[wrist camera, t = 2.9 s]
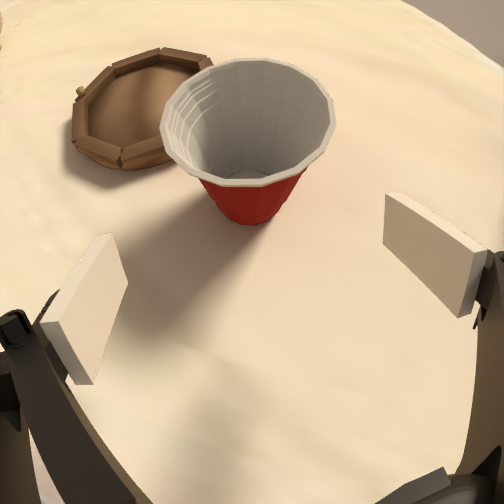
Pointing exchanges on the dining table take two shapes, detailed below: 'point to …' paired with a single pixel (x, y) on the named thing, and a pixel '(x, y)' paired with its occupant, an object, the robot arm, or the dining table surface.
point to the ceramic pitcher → (0, 25)
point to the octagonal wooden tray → (131, 108)
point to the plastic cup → (248, 132)
